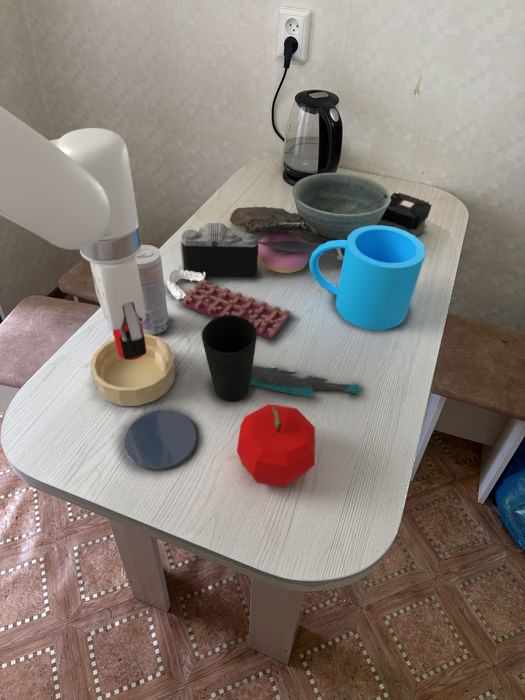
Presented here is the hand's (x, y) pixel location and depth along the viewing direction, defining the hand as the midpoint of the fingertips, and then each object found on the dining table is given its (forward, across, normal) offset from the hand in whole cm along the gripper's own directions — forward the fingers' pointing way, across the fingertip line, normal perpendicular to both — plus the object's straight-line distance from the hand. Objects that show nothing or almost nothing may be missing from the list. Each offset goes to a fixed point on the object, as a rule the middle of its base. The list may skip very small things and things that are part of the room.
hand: (130, 343), depth 75 cm
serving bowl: (+7, 0, 0) cm, 7 cm away
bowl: (+8, -26, +52) cm, 59 cm away
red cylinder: (+1, 0, 0) cm, 1 cm away
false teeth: (+8, -20, +14) cm, 26 cm away
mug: (+8, -3, +43) cm, 44 cm away
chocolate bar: (+7, -9, +21) cm, 24 cm away
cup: (+7, +8, +13) cm, 17 cm away
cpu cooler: (+5, -27, +66) cm, 71 cm away
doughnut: (+7, -20, +36) cm, 42 cm away
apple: (+8, +23, +13) cm, 27 cm away
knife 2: (+7, +10, +21) cm, 24 cm away
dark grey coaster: (+7, +13, 0) cm, 15 cm away
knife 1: (+4, -13, +43) cm, 45 cm away
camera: (+8, -22, +23) cm, 33 cm away
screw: (-2, -18, +56) cm, 59 cm away
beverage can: (+8, -11, +6) cm, 14 cm away
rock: (+1, -24, +43) cm, 49 cm away
